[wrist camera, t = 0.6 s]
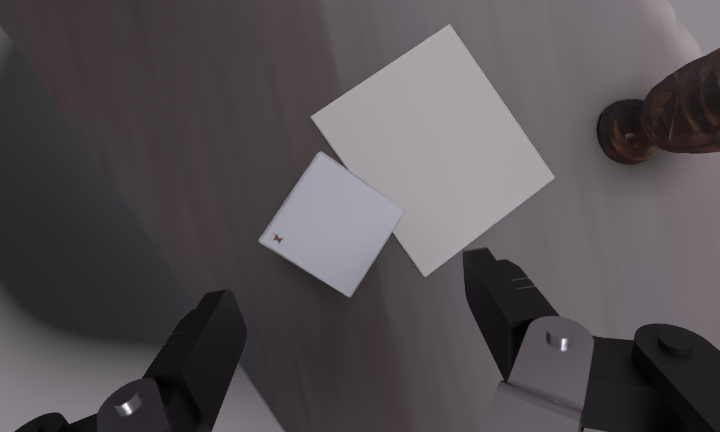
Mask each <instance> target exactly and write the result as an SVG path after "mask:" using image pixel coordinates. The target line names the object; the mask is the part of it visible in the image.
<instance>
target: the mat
mask: <svg viewBox="0 0 720 432" xmlns="http://www.w3.org/2000/svg"><path fill="white" fill-rule="evenodd" d="M311 120H312V121H313V122H314V124H315V125H316V127H317V128H318V129H319V131H320V132H321V134H322V135H323V136H324V138H325V139H326V141H327V142H328V144H329V145H330V146H331V148H332V149H333V151H334V152H335V153H336V155H337V156H338V158H339V159H340V160H341V162H342V163H343V165H344V166H345V167H346V169H347V170H349V171H350V172H352V173H353V174H354V175H356V176H357V177H359V178H360V179H361V180H363V181H364V182H366V183H367V184H368V185H370V186H371V187H373V188H374V189H375V190H377V191H378V192H380V193H381V194H383V195H384V196H385V197H387V198H388V199H390V200H391V201H393V202H394V203H395V204H397V205H398V206H400V207H401V208H403V209H405V212H404V214H403V216H402V217H401V219H400V221H399V222H398V224H397V226H396V227H395V229H394V230H393V232H392V233H393V235H394V236H395V238H396V239H397V240H398V242H399V243H400V245H401V246H402V248H403V249H404V250H405V252H406V253H407V255H408V256H409V257H410V259H411V260H412V262H413V263H414V264H415V266H416V267H417V269H418V270H419V271H420V273H421V274H422V276H423V277H426V276H428V275H429V274H430V273H432V272H433V271H434V270H435V269H437V268H438V267H439V266H441V265H442V264H443V263H445V262H446V261H447V260H448V259H450V258H451V257H452V256H454V255H455V254H456V253H458V252H459V251H460V250H461V249H463V248H464V247H465V246H467V245H468V244H469V243H471V242H472V241H473V240H475V239H476V238H477V237H478V236H480V235H481V234H482V233H484V232H485V231H486V230H488V229H489V228H490V227H491V226H493V225H494V224H495V223H497V222H498V221H499V220H501V219H502V218H503V217H504V216H506V215H507V214H508V213H510V212H511V211H512V210H514V209H515V208H516V207H517V206H519V205H520V204H521V203H523V202H524V201H525V200H527V199H528V198H529V197H531V196H532V195H533V194H534V193H536V192H537V191H538V190H540V189H541V188H542V187H544V186H545V185H546V184H547V183H549V182H550V181H551V180H553V179H554V178H555V177H554V176H553V174H552V173H551V171H550V170H549V168H548V167H547V165H546V164H545V163H544V161H543V160H542V158H541V157H540V155H539V154H538V152H537V151H536V149H535V148H534V146H533V145H532V144H531V142H530V141H529V139H528V138H527V136H526V135H525V133H524V132H523V130H522V129H521V127H520V126H519V125H518V123H517V122H516V120H515V119H514V117H513V116H512V114H511V113H510V111H509V110H508V108H507V107H506V106H505V104H504V103H503V101H502V100H501V98H500V97H499V95H498V94H497V92H496V91H495V89H494V88H493V87H492V85H491V84H490V82H489V81H488V79H487V78H486V76H485V75H484V73H483V72H482V70H481V69H480V68H479V66H478V65H477V63H476V62H475V60H474V59H473V57H472V56H471V54H470V53H469V51H468V50H467V49H466V47H465V46H464V44H463V43H462V41H461V40H460V38H459V37H458V35H457V34H456V33H455V31H454V30H453V28H452V27H451V25H450V24H449V25H448V26H446V27H445V28H443V29H442V30H440V31H439V32H437V33H436V34H434V35H433V36H431V37H430V38H428V39H427V40H425V41H424V42H422V43H421V44H419V45H418V46H416V47H415V48H413V49H412V50H410V51H409V52H407V53H406V54H404V55H403V56H401V57H400V58H398V59H397V60H395V61H394V62H392V63H391V64H389V65H388V66H386V67H384V68H383V69H381V70H380V71H378V72H377V73H375V74H374V75H372V76H371V77H369V78H368V79H366V80H365V81H363V82H362V83H360V84H359V85H357V86H356V87H354V88H353V89H351V90H350V91H348V92H347V93H345V94H344V95H342V96H341V97H339V98H338V99H336V100H335V101H333V102H332V103H330V104H329V105H327V106H326V107H324V108H323V109H321V110H320V111H318V112H317V113H315V114H314V115H312V116H311Z"/></svg>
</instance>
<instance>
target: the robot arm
mask: <svg viewBox="0 0 720 432" xmlns="http://www.w3.org/2000/svg"><path fill="white" fill-rule="evenodd" d="M463 268H464V281H465V292H466V298H467V301H468V305H469V307H470V310H471V312H472V314H473V316H474V318H475V320H476V322H477V324H478V326H479V328H480V331H481V333H482V335H483V337H484V339H485V341H486V343H487V345H488V347H489V349H490V351H491V354H492V356H493V358H494V360H495V362H496V364H497V366H498V368H499V370H500V372H501V374H502V377H503V379H504V380H501V381H500V383H499V384H498V386H497V388H496V390H495V393H494V395H493V398H492V400H491V403H490V405H489V408H488V410H487V413H486V415H485V418H484V420H483V423H482V425H481V427H480V430H479V432H584V428H589V429H595V430H601V431H607V432H720V351H719V350H718V349H717V348H716V347H715V346H713V345H712V344H711V343H710V342H709V341H707V340H706V339H705V338H703V337H701V336H700V335H698V334H696V333H694V332H692V331H689V330H687V329H684V328H681V327H678V326H674V325H668V324H648V325H644V326H642V327H640V328H639V329H638V330H637V331H636V333H635V336H634V340H624V339H612V338H602V337H596V336H592V335H591V333H590V332H589V331H588V330H587V329H586V328H585V327H584V326H582V325H581V324H579V323H577V322H575V321H573V320H571V319H567V318H564V317H560V316H559V314H558V313H557V312H556V311H555V310H554V308H553V307H552V306H551V305H550V303H549V302H548V301H547V300H546V299H545V297H544V296H543V295H542V294H541V292H540V291H539V290H538V289H537V288H536V287H535V286H534V284H533V283H532V281H531V280H530V279H528V277H527V275H526V274H525V273H524V272H523V270H522V269H521V268H520V267H519V266H517V265H515V264H514V263H512V262H510V261H508V260H506V259H504V260H498V261H497V260H496V259H495V258H494V256H493V255H492V254H491V252H490V251H489V249H488V248H487V247H484V248H478V249H472V250H466V251H463ZM246 338H247V330H246V325H245V322H244V319H243V317H242V314H241V312H240V309H239V307H238V304H237V302H236V299H235V296H234V294H233V292H232V291H231V290H229V289H227V290H221V291H215V292H209V293H206V294H205V295H204V297H203V298H202V300H201V301H200V303H199V305H198V306H197V308H196V309H194V310H192V311H191V312H190V313H188V314H187V315H186V316H185V317H184V318H183V319H182V320H181V321H180V322H179V323H178V325H177V326H176V328H175V329H174V331H173V332H172V335H171V336H170V337H169V338H168V340H167V341H166V345H164V346H163V347H162V349H161V350H160V352H159V353H158V355H157V356H156V358H155V359H154V361H153V362H152V364H151V365H150V367H149V368H148V370H147V371H146V373H145V374H144V376H143V377H142V379H138V380H135V381H132V382H130V383H128V384H126V385H124V386H122V387H121V388H119V389H118V390H117V391H115V392H114V393H113V394H111V396H110V397H108V398H107V399H106V401H105V402H104V403H103V404H102V406H101V407H100V409H99V411H98V413H96V414H94V415H91V416H89V417H86V418H84V419H81V420H79V421H77V422H74V423H71V424H69V423H68V422H67V421H66V419H65V418H64V417H63V415H62V414H60V413H48V414H44V415H42V416H39V417H37V418H35V419H33V420H31V421H29V422H28V423H26V424H25V425H23V426H21V427H20V428H19V429H17V430H16V431H15V432H211V431H212V429H213V426H214V424H215V421H216V418H217V416H218V413H219V411H220V408H221V406H222V403H223V400H224V397H225V395H226V392H227V390H228V387H229V385H230V382H231V379H232V377H233V374H234V372H235V369H236V366H237V364H238V361H239V358H240V356H241V353H242V351H243V348H244V345H245V343H246Z"/></svg>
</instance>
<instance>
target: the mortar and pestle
mask: <svg viewBox="0 0 720 432" xmlns="http://www.w3.org/2000/svg"><path fill="white" fill-rule="evenodd" d="M599 140H600V144H601V146H602V147H603V149H604V151H605V153H606V154H607V155H608V156H609V157H610V158H612V159H614V160H615V161H618V162H620V163H624V164H637V163H641V162H643V161H646V160H648V159H650V158H651V157H653V156H654V155H655V154H656V153H657V152H658V151H659V150H661V149H662V150H665V151H668V152H674V153H691V154H698V153H711V152H720V48H719V49H717V50H715V51H713V52H711V53H710V54H708V55H706V56H704V57H701V58H698V59H696V60H694V61H692V62H690V63H688V64H686V65H685V66H683V67H682V68H680V69H678V70H677V71H675V72H674V73H672V74H670V75H669V76H667V77H666V78H665V79H664V80H663V81H661V82H660V83H659V84H657V85H656V86H655V87H654V88H653V89H651V90H650V92H649V93H648V95H647V96H646V98H645V100H638V99H626V100H622V101H617V102H615V103H613V104H611V105H610V106H608V108H606V110H605V111H604V112H603V113H602V116H601V119H600V124H599Z"/></svg>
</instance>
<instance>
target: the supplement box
mask: <svg viewBox="0 0 720 432" xmlns="http://www.w3.org/2000/svg"><path fill="white" fill-rule="evenodd" d="M404 212H405V209H403V208H401V207H400V206H398V205H397V204H395V203H394V202H393V201H391V200H390V199H388V198H387V197H385V196H384V195H383V194H381V193H380V192H378V191H377V190H375V189H374V188H373V187H371V186H370V185H368V184H367V183H366V182H364V181H363V180H361V179H360V178H359V177H357V176H356V175H354V174H353V173H352V172H350V171H349V170H347V169H346V168H345V167H343V166H342V165H340V164H339V163H338V162H336V161H335V160H333V159H332V158H330V157H329V156H328V155H326V154H325V153H323V152H319V153H318V154H317V155H316V156H315V158H314V159H313V161H312V162H311V164H310V165H309V167H308V168H307V169H306V171H305V172H304V174H303V175H302V177H301V178H300V180H299V181H298V183H297V184H296V186H295V187H294V189H293V190H292V191H291V193H290V194H289V196H288V197H287V198H286V200H285V202H284V203H283V205H282V206H281V208H280V209H279V211H278V212H277V214H276V215H275V217H274V218H273V220H272V221H271V223H270V224H269V225H268V227H267V228H266V230H265V231H264V233H263V234H262V236H261V237H260V238H259V243H261V244H263V245H264V246H266V247H267V248H269V249H271V250H272V251H274V252H275V253H277V254H279V255H280V256H282V257H283V258H285V259H287V260H288V261H290V262H292V263H293V264H295V265H296V266H298V267H300V268H301V269H303V270H305V271H306V272H308V273H310V274H311V275H313V276H315V277H316V278H318V279H320V280H321V281H323V282H324V283H326V284H328V285H329V286H331V287H333V288H334V289H336V290H338V291H339V292H341V293H343V294H344V295H346V296H347V297H351V296H352V294H353V293H354V291H355V290H356V288H357V287H358V285H359V284H360V282H361V281H362V279H363V278H364V276H365V275H366V273H367V271H368V270H369V268H370V267H371V265H372V264H373V262H374V260H375V259H376V257H377V256H378V254H379V253H380V251H381V249H382V248H383V246H384V245H385V243H386V241H387V240H388V238H389V237H390V235H391V233H392V232H393V230H394V229H395V227H396V226H397V224H398V222H399V221H400V219H401V217H402V216H403V214H404Z"/></svg>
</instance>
